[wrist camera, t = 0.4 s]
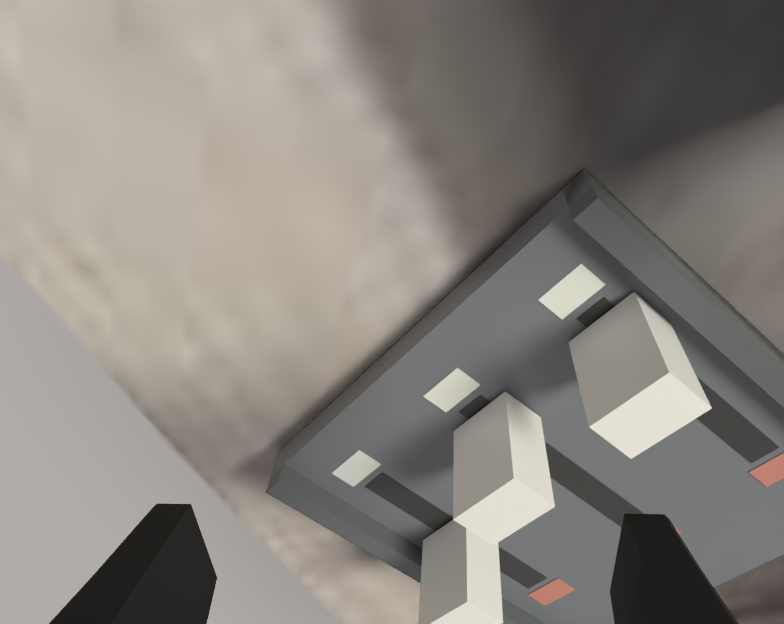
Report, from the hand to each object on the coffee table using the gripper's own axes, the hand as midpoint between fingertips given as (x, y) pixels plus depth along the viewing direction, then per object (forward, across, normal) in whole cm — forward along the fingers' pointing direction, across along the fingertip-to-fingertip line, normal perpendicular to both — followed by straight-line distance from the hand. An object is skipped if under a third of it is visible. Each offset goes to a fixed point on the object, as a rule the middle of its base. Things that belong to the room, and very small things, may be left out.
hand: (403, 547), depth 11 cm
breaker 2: (+9, -6, +2) cm, 11 cm away
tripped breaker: (+9, -1, +11) cm, 14 cm away
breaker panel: (+10, -5, +8) cm, 14 cm away
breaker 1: (+9, -2, +6) cm, 11 cm away
